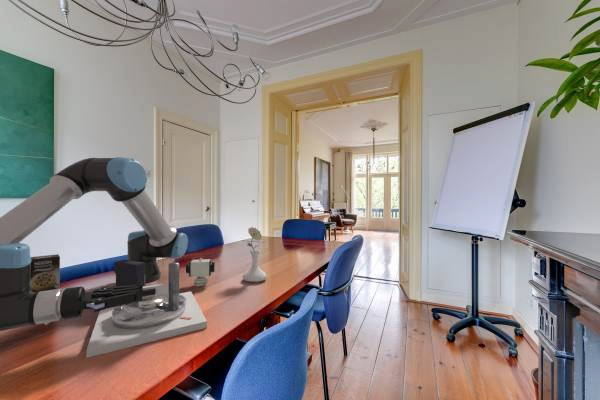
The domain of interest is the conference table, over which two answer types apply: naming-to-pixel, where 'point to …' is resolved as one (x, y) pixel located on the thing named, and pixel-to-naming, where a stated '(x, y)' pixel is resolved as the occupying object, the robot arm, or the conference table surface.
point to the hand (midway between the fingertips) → (168, 288)
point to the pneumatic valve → (200, 270)
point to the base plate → (143, 329)
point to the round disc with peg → (152, 306)
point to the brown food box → (45, 273)
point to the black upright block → (129, 273)
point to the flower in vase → (254, 260)
